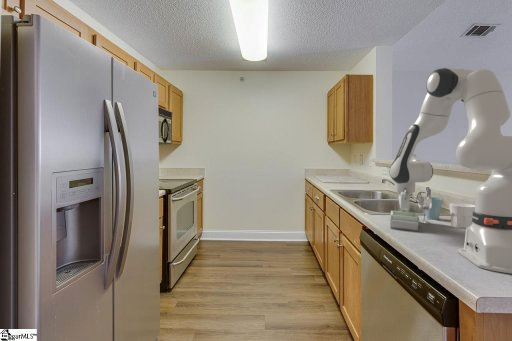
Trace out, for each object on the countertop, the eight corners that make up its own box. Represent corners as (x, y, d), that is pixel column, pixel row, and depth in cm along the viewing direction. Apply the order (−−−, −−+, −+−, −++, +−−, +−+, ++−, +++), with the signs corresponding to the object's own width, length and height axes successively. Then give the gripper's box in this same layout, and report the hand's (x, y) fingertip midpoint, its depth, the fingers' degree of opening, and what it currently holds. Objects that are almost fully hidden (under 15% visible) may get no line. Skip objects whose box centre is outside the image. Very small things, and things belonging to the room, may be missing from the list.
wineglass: (432, 223, 143) (434, 198, 142) (419, 223, 144) (420, 198, 143) (428, 221, 148) (429, 197, 148) (415, 220, 150) (417, 196, 149)
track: (418, 231, 129) (419, 223, 128) (390, 228, 133) (391, 220, 133) (414, 220, 150) (414, 213, 149) (390, 218, 154) (390, 211, 154)
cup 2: (474, 230, 132) (475, 207, 132) (447, 226, 138) (448, 205, 138) (475, 225, 140) (476, 204, 140) (449, 222, 146) (450, 202, 146)
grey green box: (418, 228, 131) (419, 217, 130) (390, 225, 135) (391, 215, 135) (416, 222, 142) (416, 212, 141) (390, 220, 146) (390, 210, 146)
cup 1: (423, 218, 154) (425, 198, 153) (424, 216, 160) (425, 196, 160) (441, 220, 150) (442, 199, 149) (440, 218, 157) (442, 198, 156)
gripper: (413, 190, 134) (412, 221, 135) (410, 185, 152) (409, 212, 153) (398, 189, 136) (396, 219, 137) (396, 184, 155) (395, 211, 156)
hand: (403, 215), depth 145 cm, fingers closed
